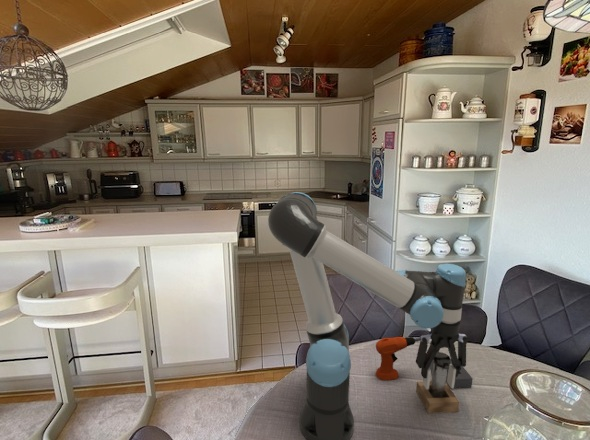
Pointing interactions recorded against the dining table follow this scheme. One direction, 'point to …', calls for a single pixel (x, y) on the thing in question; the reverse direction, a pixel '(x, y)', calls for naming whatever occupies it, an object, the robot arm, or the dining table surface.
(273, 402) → the dining table surface
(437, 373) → the dark grey tall piece
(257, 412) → the dining table surface
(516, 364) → the dining table surface
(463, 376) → the block
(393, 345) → the toy drill
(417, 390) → the wooden square frame
